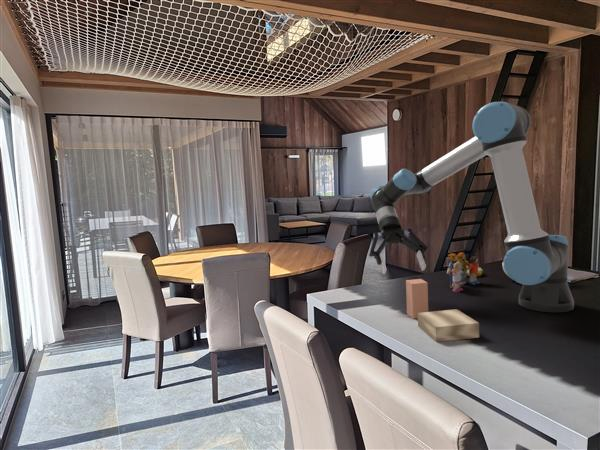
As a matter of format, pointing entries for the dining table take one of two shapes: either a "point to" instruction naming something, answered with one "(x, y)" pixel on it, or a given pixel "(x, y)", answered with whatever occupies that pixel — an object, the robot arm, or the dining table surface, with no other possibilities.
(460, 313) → the plinth
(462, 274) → the doll family
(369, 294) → the dining table surface
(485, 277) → the dining table surface
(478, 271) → the decorated donut
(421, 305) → the block
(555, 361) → the dining table surface
